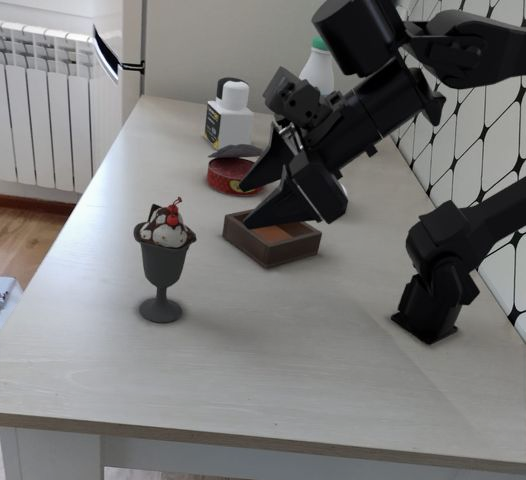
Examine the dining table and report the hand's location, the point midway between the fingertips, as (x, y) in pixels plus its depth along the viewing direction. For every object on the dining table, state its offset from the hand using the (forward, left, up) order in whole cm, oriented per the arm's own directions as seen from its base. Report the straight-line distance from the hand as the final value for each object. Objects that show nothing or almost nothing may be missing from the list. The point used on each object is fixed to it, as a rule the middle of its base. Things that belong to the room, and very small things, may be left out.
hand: (242, 206), depth 63 cm
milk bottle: (+43, -54, -14) cm, 70 cm away
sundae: (+3, +7, -14) cm, 16 cm away
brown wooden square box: (+10, -16, -14) cm, 23 cm away
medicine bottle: (+47, -35, -14) cm, 60 cm away
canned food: (+30, -24, -14) cm, 41 cm away
